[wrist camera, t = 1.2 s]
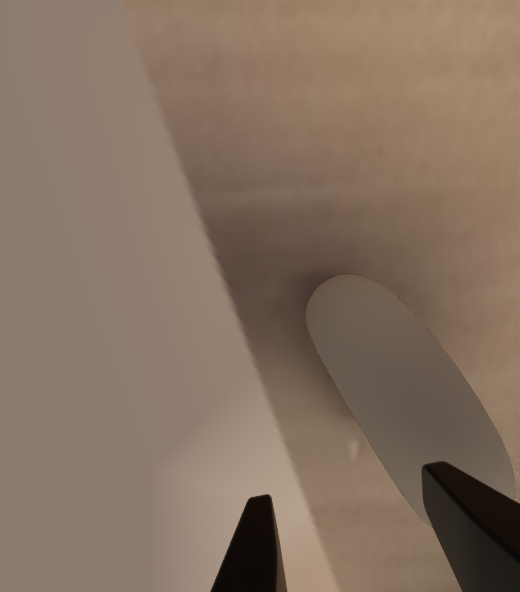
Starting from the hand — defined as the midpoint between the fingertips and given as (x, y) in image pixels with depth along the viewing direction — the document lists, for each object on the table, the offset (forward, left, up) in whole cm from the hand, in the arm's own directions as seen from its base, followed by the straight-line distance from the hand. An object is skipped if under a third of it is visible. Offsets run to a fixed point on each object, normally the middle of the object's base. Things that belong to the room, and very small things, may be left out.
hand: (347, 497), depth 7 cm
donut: (-3, -4, -12) cm, 13 cm away
